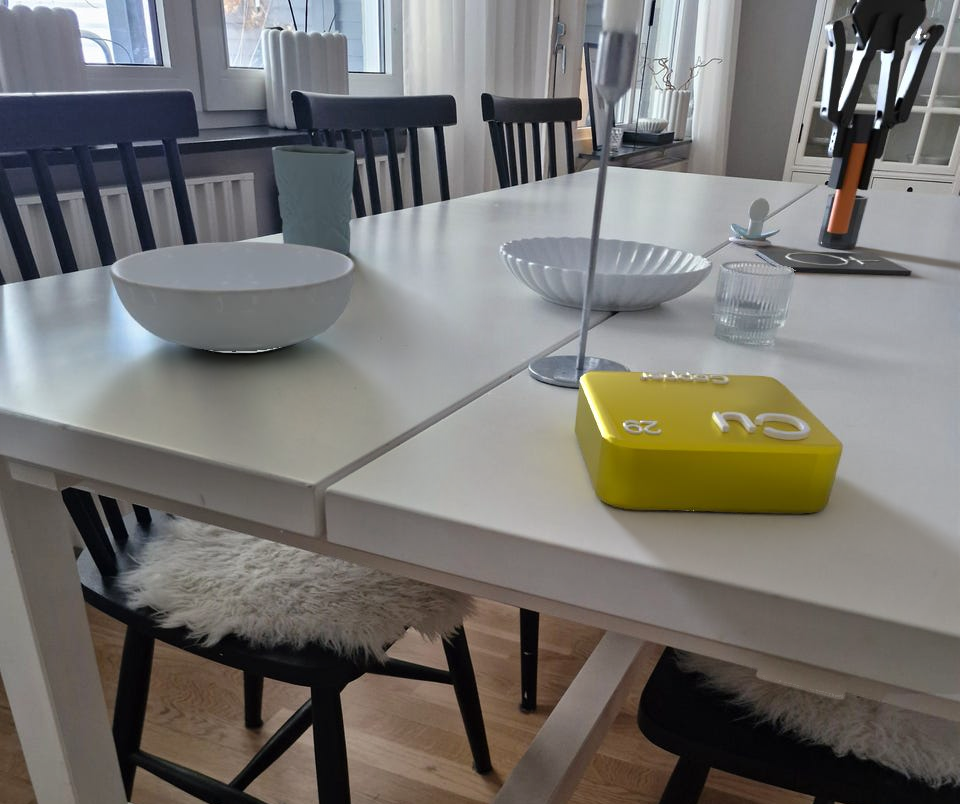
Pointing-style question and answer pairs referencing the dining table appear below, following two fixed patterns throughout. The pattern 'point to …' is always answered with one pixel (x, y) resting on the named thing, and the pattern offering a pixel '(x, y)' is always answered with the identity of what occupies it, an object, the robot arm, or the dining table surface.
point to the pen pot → (854, 227)
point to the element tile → (703, 443)
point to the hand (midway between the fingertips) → (847, 188)
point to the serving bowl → (235, 293)
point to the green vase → (315, 195)
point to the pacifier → (754, 226)
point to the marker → (851, 173)
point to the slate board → (833, 262)
